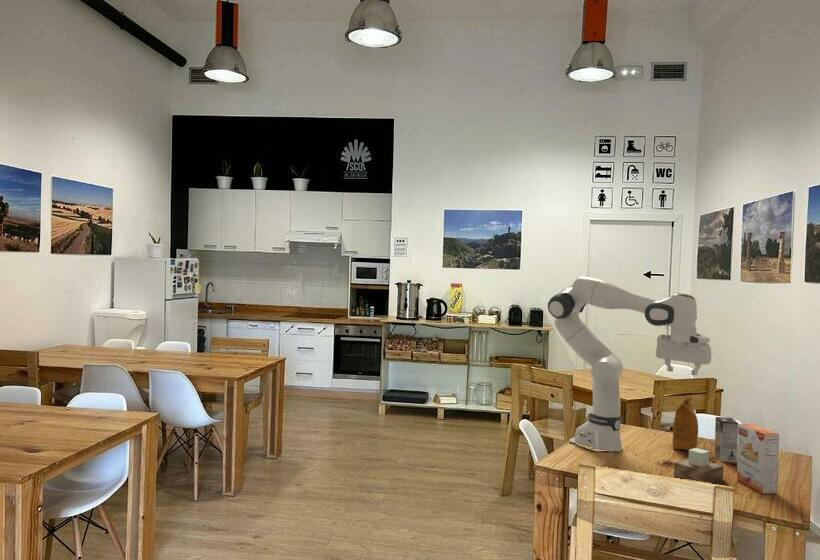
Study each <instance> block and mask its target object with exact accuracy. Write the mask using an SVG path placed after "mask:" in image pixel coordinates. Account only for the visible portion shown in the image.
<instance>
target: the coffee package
mask: <svg viewBox="0 0 820 560" xmlns="http://www.w3.org/2000/svg"><path fill="white" fill-rule="evenodd" d="M691 401H693V397H692V396H691V395H688V396H686V397H683V402H682V403H681V404H680V405H679V406H678V408H677V409H676V411H675V414H674V421H673V428H672V444H671V445H672V449H673V450H679V451H688V452H689V450H690V449H694V448H697V445H698V438H699V422H698V417H697V415H696V413H695V411H694V409H693V407H692V405H691Z"/></svg>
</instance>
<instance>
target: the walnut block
mask: <svg viewBox="0 0 820 560" xmlns="http://www.w3.org/2000/svg"><path fill="white" fill-rule="evenodd" d="M688 461H689V457H687V458H685V459H682V460H679V461H675V462H673V463H674V464H673V466H674V467H673V477H676V478H679V479H682V478H685V479H691V480H696V481H703V482H710V483H713V484H715V483H717V482H716V481H718V482H720V481H719V480H721V481H723V480H724V465H722V464H717V463H714V462H710V461H709V465H707V466H704V467H699V466H696V465H692V464H689V463H688ZM685 479H684V480H685ZM722 479H723V480H722Z"/></svg>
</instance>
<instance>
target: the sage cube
mask: <svg viewBox="0 0 820 560" xmlns="http://www.w3.org/2000/svg"><path fill="white" fill-rule="evenodd" d="M688 458H689V461H688V463H689V464H692V465H696V466H699V467H704V466H707V465H709V462H710V450H705V449H702V448H698V447H696V448H694V449H690V450H689V451H688Z"/></svg>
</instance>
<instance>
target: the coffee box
mask: <svg viewBox="0 0 820 560" xmlns="http://www.w3.org/2000/svg"><path fill="white" fill-rule="evenodd" d="M738 426H739V422H737V421H736V420H735V419H734V418H733V417H726V416H725V417H724V416H723V417H722V416H716V417H715V427H714V428H715V431H714V432H715V433H714V434H715V435H714V456H715V457H716V458H717V459H718V461H720V462H725V463H736V464H737V462H738Z"/></svg>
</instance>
